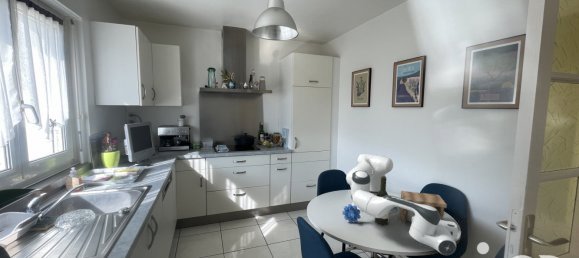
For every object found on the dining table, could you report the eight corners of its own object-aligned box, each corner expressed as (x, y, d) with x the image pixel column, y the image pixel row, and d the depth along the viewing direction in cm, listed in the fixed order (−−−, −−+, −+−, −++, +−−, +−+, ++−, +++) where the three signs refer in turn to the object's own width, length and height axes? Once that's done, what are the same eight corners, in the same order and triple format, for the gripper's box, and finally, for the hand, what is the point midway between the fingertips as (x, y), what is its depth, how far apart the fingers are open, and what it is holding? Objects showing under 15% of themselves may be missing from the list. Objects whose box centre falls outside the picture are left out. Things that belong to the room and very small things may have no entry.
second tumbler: (404, 220, 151) (405, 204, 150) (403, 216, 157) (404, 200, 156) (415, 222, 149) (416, 205, 148) (413, 218, 155) (414, 202, 154)
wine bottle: (372, 218, 153) (374, 174, 151) (385, 219, 153) (388, 174, 150) (376, 225, 145) (379, 177, 142) (390, 225, 144) (393, 178, 142)
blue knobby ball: (344, 226, 143) (344, 207, 142) (341, 220, 150) (341, 202, 149) (362, 225, 144) (363, 207, 143) (358, 220, 150) (359, 202, 149)
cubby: (403, 226, 144) (404, 199, 142) (399, 215, 159) (401, 190, 158) (444, 232, 137) (446, 204, 136) (436, 220, 152) (438, 194, 151)
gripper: (413, 232, 119) (408, 220, 132) (460, 240, 113) (450, 226, 126) (414, 220, 119) (409, 209, 132) (461, 227, 112) (451, 215, 125)
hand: (430, 218), depth 129 cm, fingers closed on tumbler, 6 cm apart
